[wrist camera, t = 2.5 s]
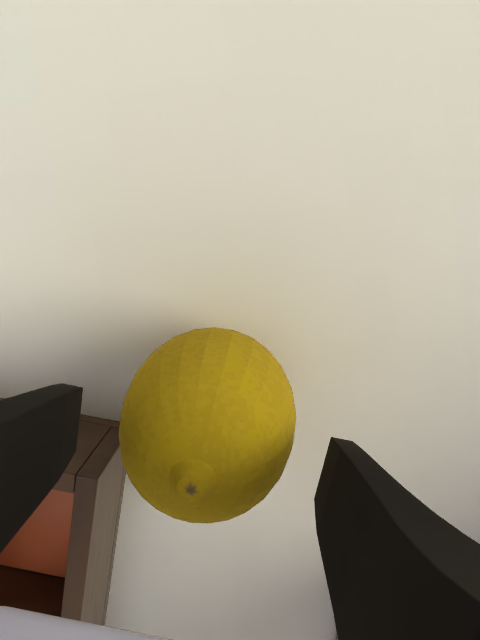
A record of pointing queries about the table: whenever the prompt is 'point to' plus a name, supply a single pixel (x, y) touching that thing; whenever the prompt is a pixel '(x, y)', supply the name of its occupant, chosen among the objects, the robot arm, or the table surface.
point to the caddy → (71, 534)
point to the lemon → (207, 425)
